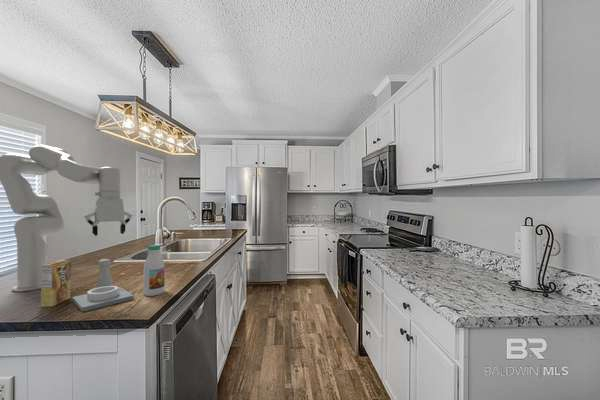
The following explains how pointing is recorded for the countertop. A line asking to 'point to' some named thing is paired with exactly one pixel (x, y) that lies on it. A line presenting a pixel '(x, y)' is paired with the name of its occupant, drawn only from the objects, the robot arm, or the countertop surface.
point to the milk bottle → (153, 272)
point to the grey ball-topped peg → (104, 274)
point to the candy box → (55, 282)
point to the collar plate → (101, 303)
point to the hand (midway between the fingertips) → (109, 234)
